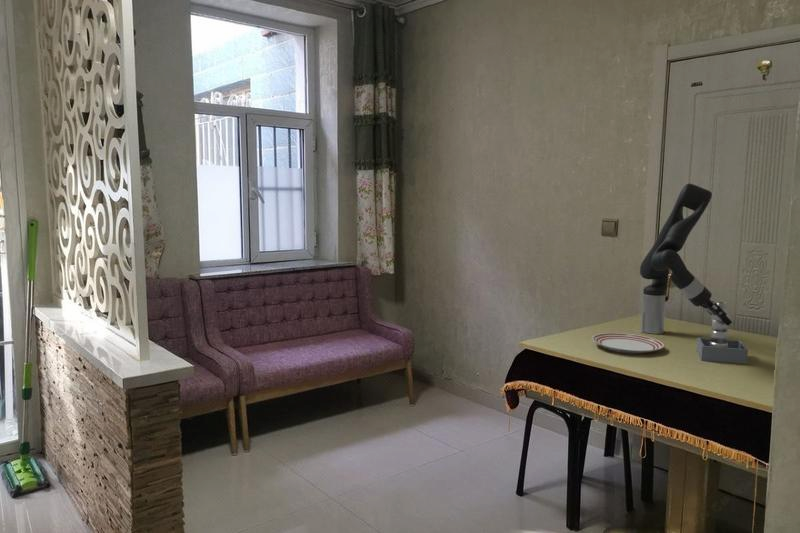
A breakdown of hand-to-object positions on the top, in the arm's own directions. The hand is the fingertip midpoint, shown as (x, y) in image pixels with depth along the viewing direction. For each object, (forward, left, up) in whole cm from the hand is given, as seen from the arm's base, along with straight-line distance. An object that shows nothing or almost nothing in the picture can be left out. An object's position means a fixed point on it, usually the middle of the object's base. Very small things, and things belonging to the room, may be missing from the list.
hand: (724, 321), depth 227 cm
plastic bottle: (-1, 0, -13) cm, 13 cm away
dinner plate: (-34, +3, -14) cm, 37 cm away
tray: (0, 0, -14) cm, 14 cm away
